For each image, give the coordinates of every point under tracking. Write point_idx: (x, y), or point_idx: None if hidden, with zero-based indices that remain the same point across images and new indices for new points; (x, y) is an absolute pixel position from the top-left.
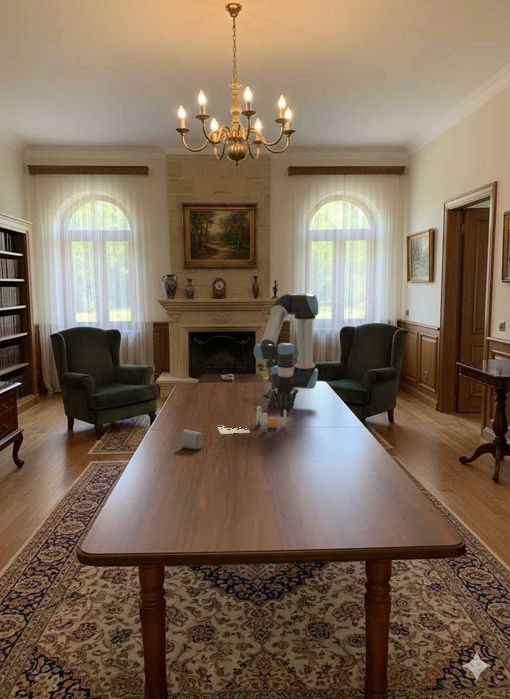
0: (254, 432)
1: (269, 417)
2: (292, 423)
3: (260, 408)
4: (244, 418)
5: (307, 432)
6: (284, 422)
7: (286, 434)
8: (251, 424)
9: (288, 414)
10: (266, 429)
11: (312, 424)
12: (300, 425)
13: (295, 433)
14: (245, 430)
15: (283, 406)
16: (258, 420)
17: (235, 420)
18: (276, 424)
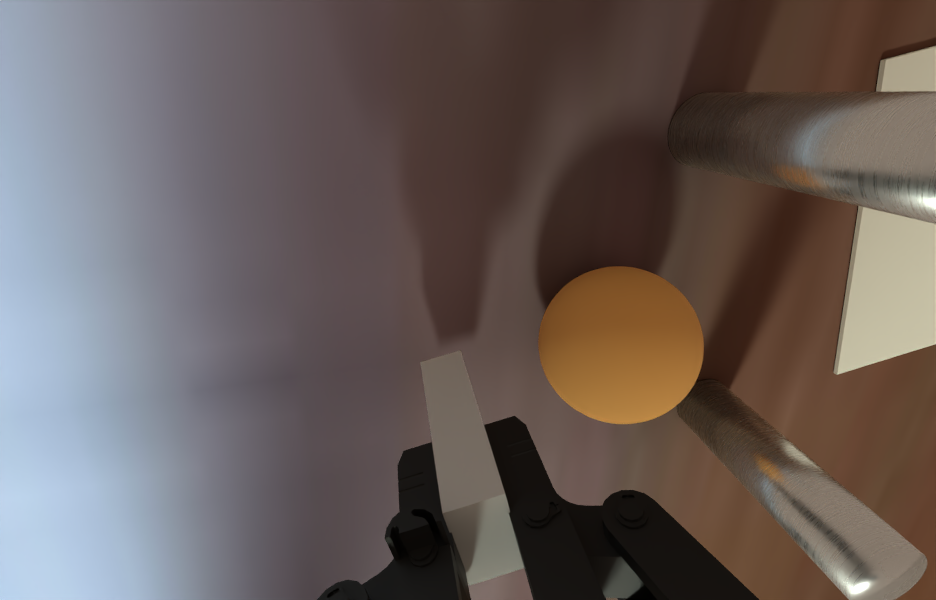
0: (826, 91)
1: (692, 379)
2: (349, 504)
3: (867, 544)
4: (775, 546)
5: (79, 149)
6: (451, 365)
7: (414, 4)
8: (767, 399)
9: (401, 480)
10: (711, 101)
11: (98, 516)
12: (246, 455)
13: (273, 74)
14: None
15: (544, 589)
16: (750, 412)
17: (861, 484)
18: (562, 294)
